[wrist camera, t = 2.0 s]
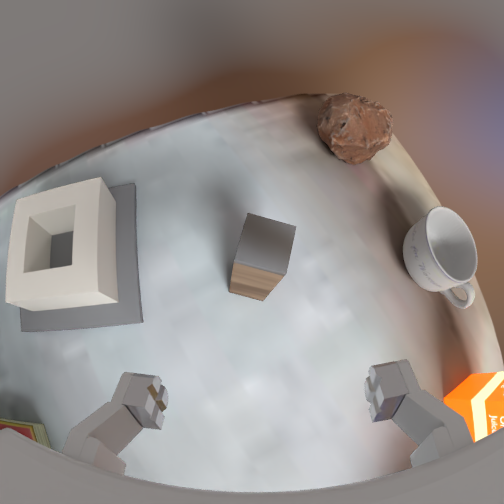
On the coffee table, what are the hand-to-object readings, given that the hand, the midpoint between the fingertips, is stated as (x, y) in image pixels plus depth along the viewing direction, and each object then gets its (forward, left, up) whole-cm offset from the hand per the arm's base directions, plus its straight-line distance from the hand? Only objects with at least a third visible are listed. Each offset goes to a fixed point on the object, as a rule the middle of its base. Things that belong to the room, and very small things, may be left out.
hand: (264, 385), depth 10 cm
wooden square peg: (+7, +6, -21) cm, 23 cm away
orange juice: (+19, -32, -21) cm, 43 cm away
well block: (-9, +22, -21) cm, 32 cm away
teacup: (+28, -10, -21) cm, 37 cm away
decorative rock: (+34, +13, -21) cm, 42 cm away
